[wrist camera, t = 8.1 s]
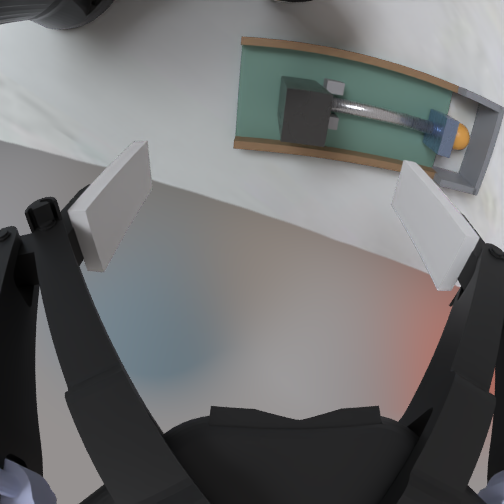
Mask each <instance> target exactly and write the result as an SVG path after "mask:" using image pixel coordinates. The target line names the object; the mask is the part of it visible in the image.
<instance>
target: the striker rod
mask: <svg viewBox="0 0 504 504" xmlns="http://www.w3.org/2000/svg"><path fill="white" fill-rule="evenodd" d="M331 111H332V112H338V113H343V114H349V115H354V116H359V117H363V118H368V119H373V120H377V121H381V122H386V123H390V124H394V125H398V126H402V127H405V128H409V129H413V130H416V131H420V132H423V133H425V134H424V138H423V141H422V142H423V143H424V144H425V145H427V146H428V147H429V148H430V149H431V150H433V151H434V152H435V153H436V154H438V155H441V156H445V157H448V158H449V157H450V154H451V151H452V147H453V144H454V141H455V137H456V134H457V130H458V127H459V123H460V122H458V121H457V120H455V119H453V118H451V117H450V116H448V115H446V114H444V113H442V112H439V111H437V110H434V109H431V110H430V114H429V118H428V120H425V119H422V118H419V117H415V116H412V115H408V114H405V113H401V112H398V111H394V110H390V109H386V108H382V107H378V106H374V105H369V104H365V103H360V102H356V101H351V100H346V99H341V98H335V97H333V94H332V93H330V92H329V91H328V90H327V89H325V88H324V87H323V86H322V85H320V84H319V83H318V82H317V81H315V80H309V79H302V78H295V77H287V76H281V85H280V94H279V103H278V112H277V117H278V125H279V133H280V141H281V142H289V143H297V144H305V145H312V146H319V147H325V142H326V136H327V130H328V125H329V119H330V113H331Z"/></svg>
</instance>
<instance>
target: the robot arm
mask: <svg viewBox="0 0 504 504" xmlns="http://www.w3.org/2000/svg"><path fill="white" fill-rule="evenodd" d="M113 1H114V0H0V24H5V23H11V22H17V21H24V20H31V21H33V22H35V23H38V24H40V25H42V26H44V27H46V28H50V29H71V28H76V27H79V26H82V25H84V24H87V23H88V22H90V21H92V20H93V19H95V18H96V17H98V16H99V15H100V14H101V13H103V12H104V11H105V10H106V9H107V8H108V7H109V6H110V4H111V3H112V2H113ZM152 188H153V187H152V179H151V170H150V161H149V152H148V142H147V141H134V142H132V143H131V144H130V145H129V146H128V147H127V148H126V149H125V150H124V151H123V152H122V153H121V154H120V155H119V156H118V157H117V158H116V159H115V160H114V161H113V162H112V163H111V164H110V165H109V166H108V167H107V168H106V169H105V170H104V171H103V172H102V173H101V174H100V175H99V176H98V178H96V180H95V181H94V182H93V183H92V184H89V185H87V186H86V187H84V188H83V189H81V190H80V191H79V192H78V193H77V194H76V195H75V196H74V198H72V199H71V201H70V202H69V203H68V204H67V205H66V206H65V208H64V209H63V210H62V211H61V212H60V210H59V206H58V203H57V200H56V199H55V198H54V197H45V198H42V199H39V200H37V201H35V202H33V203H32V204H31V205H30V206H28V208H27V209H26V210H25V215H26V218H27V221H28V224H29V227H30V229H31V232H32V233H31V234H27V235H22V236H20V235H19V233H18V230H17V228H16V227H14V226H10V227H6V228H2V229H1V230H0V504H56V501H57V499H56V496H55V494H54V493H53V492H52V490H51V489H50V486H49V484H48V483H47V482H46V480H45V479H44V478H43V465H42V464H43V462H42V450H41V441H40V433H39V424H38V414H37V403H36V402H37V401H36V382H35V381H36V380H35V342H36V341H35V340H36V320H37V307H38V296H39V287H40V289H41V294H42V299H43V304H44V308H45V312H46V317H47V321H48V325H49V328H50V332H51V336H52V340H53V343H54V346H55V349H56V353H57V356H58V360H59V363H60V366H61V369H62V372H63V375H64V378H65V381H66V383H67V387H68V391H67V392H65V399H66V402H67V405H68V408H69V410H70V413H71V415H72V418H73V420H74V423H75V425H76V427H77V430H78V432H79V434H80V437H81V438H82V441H83V443H84V445H85V448H86V450H87V452H88V454H89V455H90V458H91V460H92V462H93V464H94V466H95V468H96V470H97V472H98V473H99V475H100V477H101V479H102V481H103V482H104V485H103V486H101V487H100V488H99V489H98V490H96V491H95V492H94V493H93V494H91V495H90V496H89V497H87V498H86V499H85V500H83V501H82V502H81V503H79V504H504V252H503V251H502V250H501V249H499V248H498V247H497V246H495V245H493V244H489V243H486V244H485V242H484V241H483V240H482V238H481V237H480V236H479V234H478V233H477V232H476V230H475V229H473V226H472V225H471V224H470V223H469V221H468V220H467V219H466V217H465V216H464V215H463V214H462V213H460V212H459V210H458V209H457V208H456V207H455V206H454V204H453V203H452V202H451V201H450V200H449V198H448V197H447V196H446V195H445V194H444V193H443V191H442V190H441V189H440V188H439V187H438V186H437V185H436V183H435V182H434V181H433V180H432V179H431V178H430V177H429V176H428V175H427V174H426V173H425V171H424V170H423V169H422V168H421V167H420V166H419V165H418V164H417V163H416V162H412V161H407V160H404V161H403V164H402V168H401V172H400V175H399V179H398V182H397V186H396V189H395V193H394V196H393V199H392V203H391V205H392V207H393V209H394V210H395V212H396V214H397V215H398V217H399V219H400V220H401V222H402V224H403V226H404V227H405V229H406V231H407V233H408V234H409V236H410V238H411V240H412V242H413V243H414V245H415V247H416V249H417V251H418V253H419V255H420V256H421V258H422V260H423V262H424V264H425V266H426V268H427V270H428V272H429V274H430V276H431V278H432V280H433V282H434V284H435V286H436V288H437V290H442V291H445V290H447V291H451V290H452V288H453V287H454V285H455V283H456V281H457V280H458V281H459V283H460V285H461V287H460V289H459V291H458V292H457V294H456V296H455V297H454V299H453V300H452V302H451V303H450V305H449V306H452V305H453V307H452V309H451V312H450V315H449V318H448V320H447V323H446V326H445V328H444V331H443V333H442V336H441V338H440V341H439V343H438V346H437V348H436V350H435V353H434V356H433V357H432V360H431V362H430V364H429V366H428V369H427V370H426V373H425V375H424V377H423V379H422V381H421V383H420V385H419V387H418V389H417V391H416V393H415V395H414V397H413V399H412V401H411V403H410V404H409V406H408V408H407V410H406V412H405V413H404V415H403V416H402V418H401V419H400V420H399V422H397V421H395V420H392V419H390V418H386V417H382V416H380V410H379V406H371V407H359V408H346V409H345V408H344V409H339V410H335V411H332V412H329V413H325V414H322V415H318V416H315V417H311V418H307V419H303V420H295V419H291V418H286V417H282V416H278V415H274V414H271V413H267V412H263V411H259V410H256V409H244V408H229V407H217V406H211V410H210V416H206V417H200V418H196V419H192V420H189V421H187V422H184V423H182V424H180V425H178V426H176V427H174V428H172V429H171V430H169V431H168V432H166V433H165V434H163V432H162V430H161V429H160V427H159V426H158V424H157V423H156V421H155V420H154V418H153V417H152V415H151V413H150V412H149V410H148V409H147V407H146V405H145V404H144V402H143V400H142V398H141V397H140V395H139V394H138V392H137V390H136V388H135V386H134V384H133V383H132V381H131V379H130V377H129V375H128V374H127V372H126V370H125V368H124V366H123V364H122V362H121V360H120V358H119V356H118V354H117V352H116V350H115V348H114V346H113V344H112V342H111V340H110V338H109V336H108V334H107V332H106V330H105V327H104V325H103V323H102V321H101V319H100V316H99V314H98V312H97V309H96V307H95V305H94V302H93V300H92V298H91V295H90V293H89V290H88V288H87V285H86V283H85V280H84V277H83V275H82V273H81V270H80V267H79V266H80V264H81V263H82V261H83V259H84V262H85V264H86V267H87V270H88V271H96V272H105V270H106V268H107V266H108V264H109V262H110V261H111V259H112V257H113V255H114V253H115V251H116V249H117V248H118V246H119V244H120V242H121V240H122V239H123V237H124V235H125V233H126V231H127V230H128V228H129V226H130V225H131V223H132V221H133V220H134V218H135V216H136V215H137V213H138V211H139V210H140V208H141V206H142V205H143V203H144V201H145V200H146V198H147V197H148V195H149V193H150V192H151V190H152ZM494 369H495V396H494V395H493V394H491V393H489V389H490V385H491V381H492V377H493V373H494ZM493 413H494V415H493ZM492 417H493V426H492V435H491V443H490V451H489V459H488V475H487V486H486V488H484V489H482V490H480V492H479V493H478V495H477V494H476V493H475V492H474V491H473V490H472V489H471V488H470V487H469V486H468V482H469V480H470V478H471V476H472V473H473V471H474V468H475V466H476V463H477V461H478V458H479V456H480V453H481V450H482V448H483V445H484V442H485V439H486V436H487V433H488V430H489V427H490V424H491V420H492Z"/></svg>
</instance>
